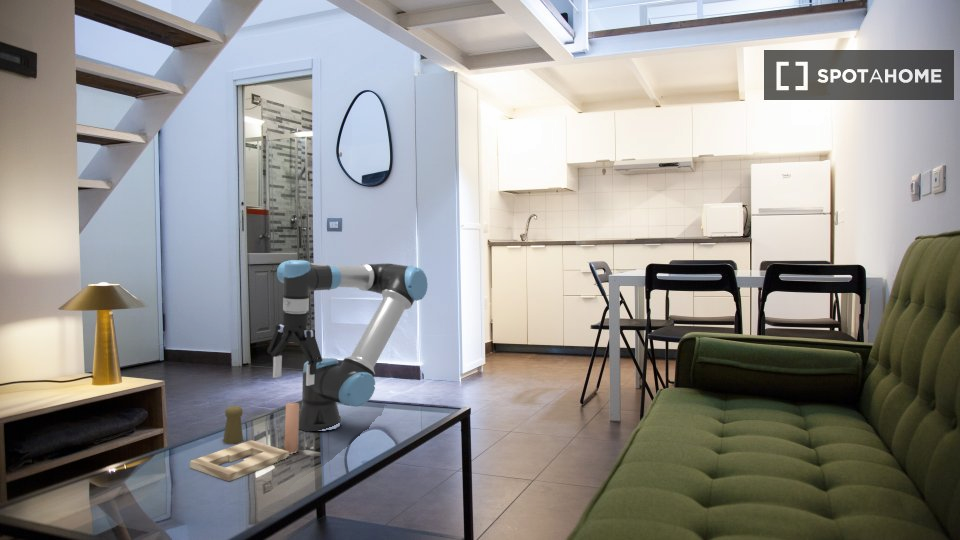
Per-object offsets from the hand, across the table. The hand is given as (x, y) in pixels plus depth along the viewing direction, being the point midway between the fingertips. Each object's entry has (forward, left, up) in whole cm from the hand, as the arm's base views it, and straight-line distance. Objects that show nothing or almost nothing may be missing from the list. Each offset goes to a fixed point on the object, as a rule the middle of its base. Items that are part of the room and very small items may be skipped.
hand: (293, 380), depth 207 cm
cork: (+4, -21, -22) cm, 31 cm away
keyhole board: (+15, -5, -22) cm, 27 cm away
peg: (0, 0, -22) cm, 22 cm away
